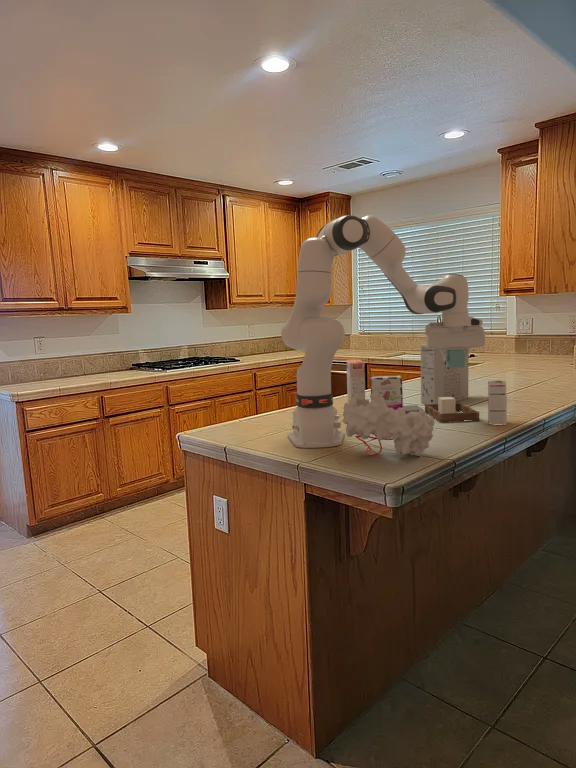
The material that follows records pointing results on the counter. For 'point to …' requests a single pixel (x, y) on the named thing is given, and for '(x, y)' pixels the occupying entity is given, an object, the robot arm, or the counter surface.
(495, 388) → the syrup box
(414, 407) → the trivet
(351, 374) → the cracker box
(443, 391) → the cereal box
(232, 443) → the counter surface
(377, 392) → the candy bar box
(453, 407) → the cream block
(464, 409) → the crate
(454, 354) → the teal block
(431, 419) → the lumpy white molecule
